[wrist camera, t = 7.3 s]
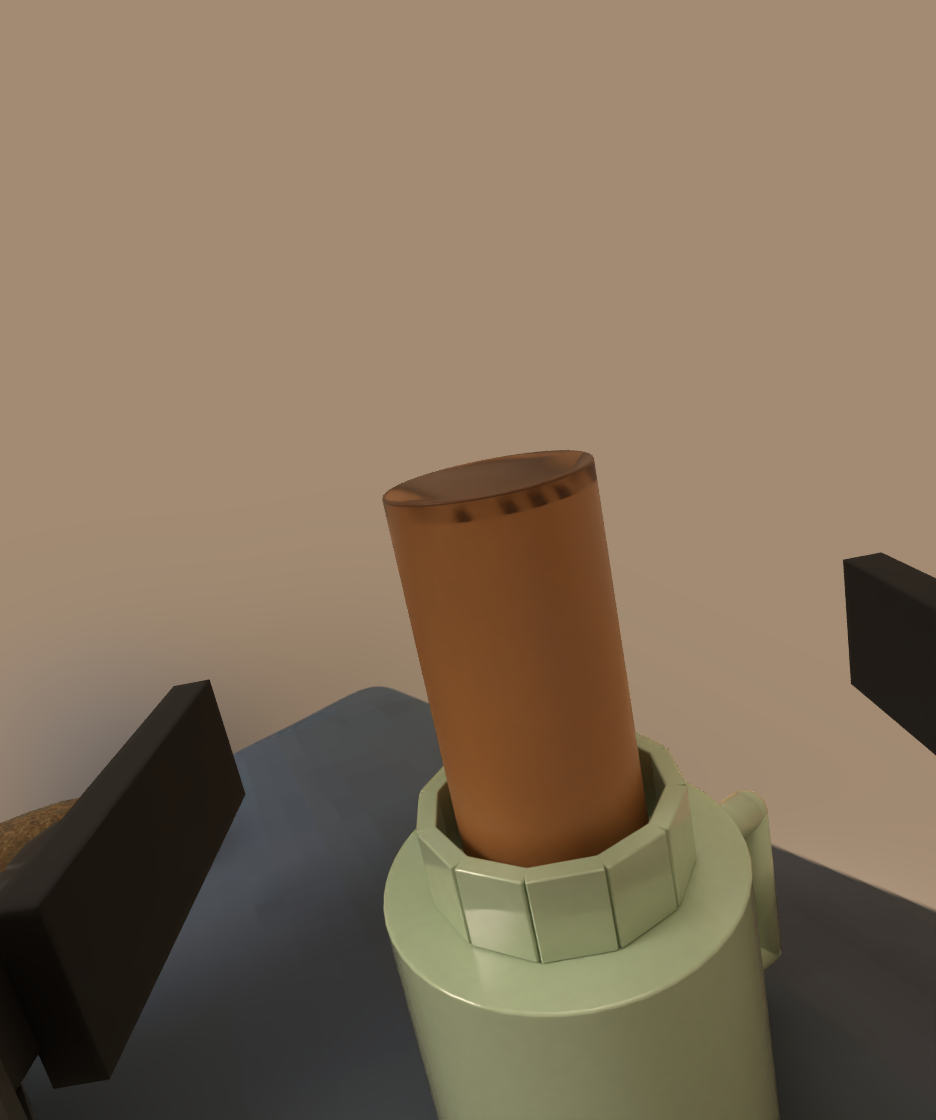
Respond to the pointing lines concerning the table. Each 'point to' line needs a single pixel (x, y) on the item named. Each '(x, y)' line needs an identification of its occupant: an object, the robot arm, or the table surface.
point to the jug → (594, 964)
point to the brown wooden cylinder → (28, 828)
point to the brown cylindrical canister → (521, 654)
